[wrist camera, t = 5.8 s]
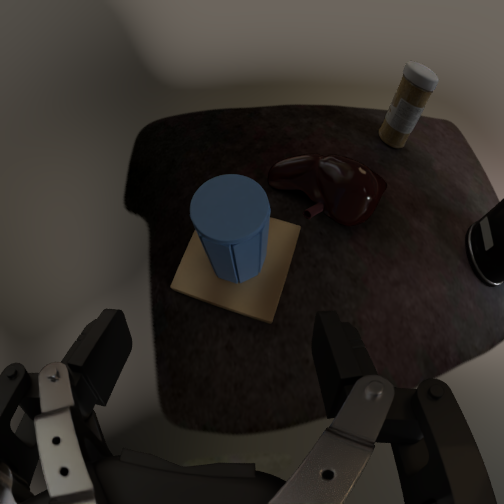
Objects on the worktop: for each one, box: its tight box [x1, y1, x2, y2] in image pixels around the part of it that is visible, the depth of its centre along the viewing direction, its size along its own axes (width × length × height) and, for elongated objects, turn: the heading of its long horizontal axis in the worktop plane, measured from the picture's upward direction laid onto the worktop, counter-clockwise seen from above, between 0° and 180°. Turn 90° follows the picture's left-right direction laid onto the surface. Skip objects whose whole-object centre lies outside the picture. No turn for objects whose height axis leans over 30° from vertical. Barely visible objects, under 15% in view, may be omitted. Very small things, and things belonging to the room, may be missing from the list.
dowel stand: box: [170, 217, 301, 324], centre depth 23 cm, size 10×10×9 cm
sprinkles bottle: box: [379, 61, 439, 148], centre depth 28 cm, size 5×5×13 cm
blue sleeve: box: [190, 174, 271, 284], centre depth 22 cm, size 5×5×9 cm
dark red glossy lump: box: [268, 154, 387, 226], centre depth 28 cm, size 6×12×11 cm
